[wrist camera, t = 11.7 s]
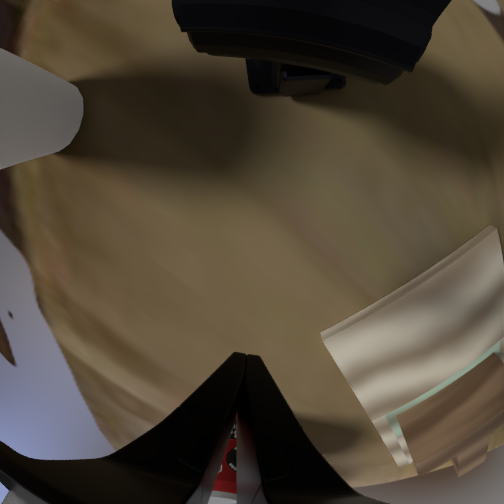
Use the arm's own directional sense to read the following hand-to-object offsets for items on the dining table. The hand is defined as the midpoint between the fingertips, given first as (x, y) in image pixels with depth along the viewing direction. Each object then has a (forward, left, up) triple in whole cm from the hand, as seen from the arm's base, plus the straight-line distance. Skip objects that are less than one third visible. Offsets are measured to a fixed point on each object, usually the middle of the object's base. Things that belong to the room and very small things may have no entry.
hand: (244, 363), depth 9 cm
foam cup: (-14, -16, -13) cm, 24 cm away
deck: (+17, +18, -13) cm, 28 cm away
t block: (+22, +21, -11) cm, 33 cm away
